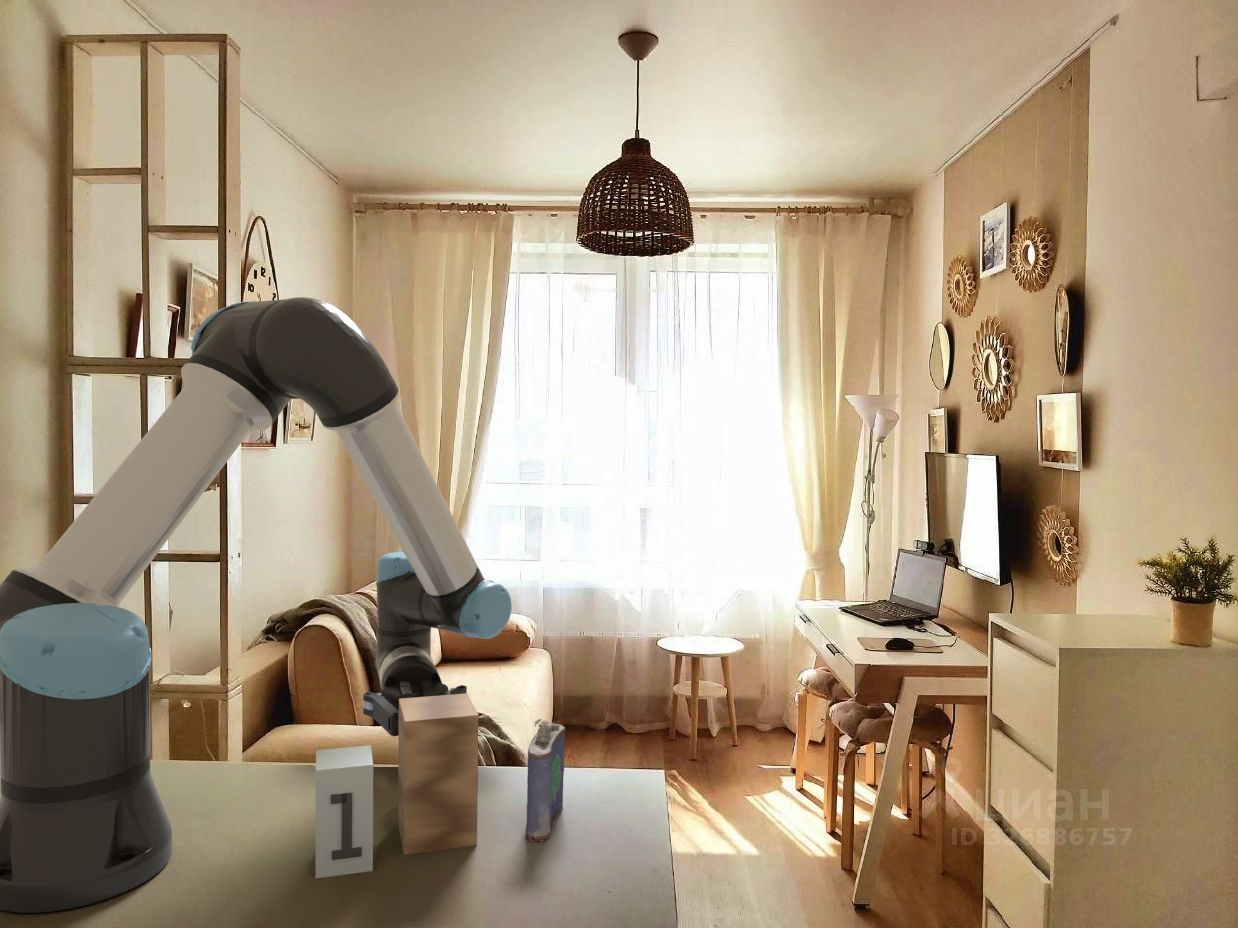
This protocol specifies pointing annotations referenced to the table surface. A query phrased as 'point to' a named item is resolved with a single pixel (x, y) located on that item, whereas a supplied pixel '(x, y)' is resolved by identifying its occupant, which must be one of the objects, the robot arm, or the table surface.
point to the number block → (344, 811)
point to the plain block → (437, 773)
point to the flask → (545, 780)
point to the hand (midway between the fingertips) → (430, 745)
